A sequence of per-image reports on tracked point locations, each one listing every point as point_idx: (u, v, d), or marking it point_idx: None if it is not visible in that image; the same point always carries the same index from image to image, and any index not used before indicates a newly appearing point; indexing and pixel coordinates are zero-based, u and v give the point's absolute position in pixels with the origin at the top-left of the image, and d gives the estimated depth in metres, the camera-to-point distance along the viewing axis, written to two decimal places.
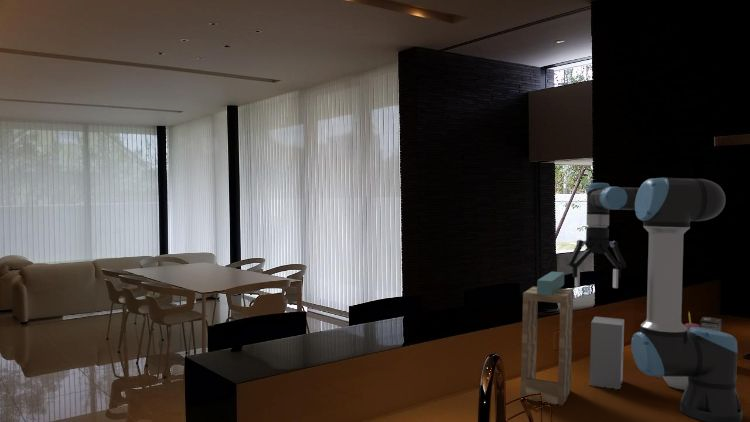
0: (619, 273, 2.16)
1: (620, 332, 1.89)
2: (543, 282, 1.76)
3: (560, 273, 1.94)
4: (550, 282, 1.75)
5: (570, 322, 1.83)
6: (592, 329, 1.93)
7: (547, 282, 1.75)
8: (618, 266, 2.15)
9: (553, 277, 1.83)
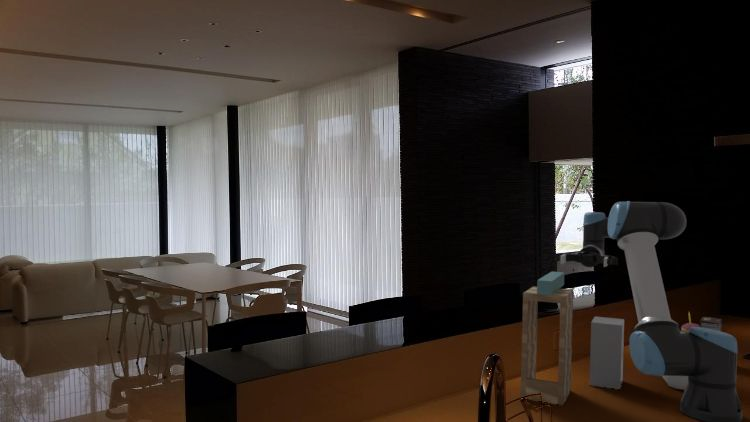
0: (609, 259, 2.04)
1: (620, 332, 1.89)
2: (543, 282, 1.76)
3: (560, 273, 1.94)
4: (550, 282, 1.75)
5: (570, 322, 1.83)
6: (592, 329, 1.93)
7: (547, 282, 1.75)
8: None
9: (553, 277, 1.83)
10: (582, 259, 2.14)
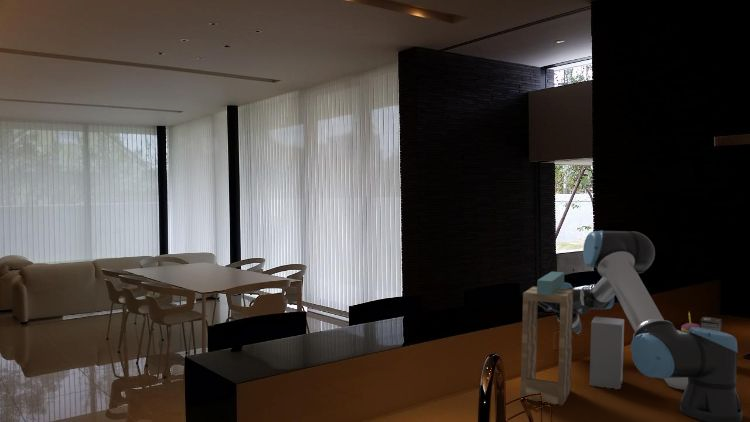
0: None
1: (620, 332, 1.89)
2: (543, 282, 1.76)
3: (560, 273, 1.94)
4: (550, 282, 1.75)
5: (570, 322, 1.83)
6: (592, 329, 1.93)
7: (547, 282, 1.75)
8: None
9: (553, 277, 1.83)
10: (559, 306, 2.13)
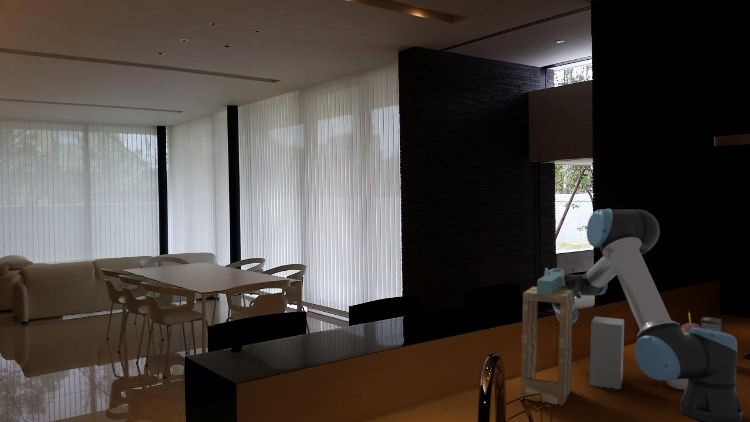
0: None
1: (620, 332, 1.89)
2: (543, 282, 1.76)
3: None
4: (550, 282, 1.75)
5: (570, 322, 1.83)
6: (592, 329, 1.93)
7: (547, 282, 1.75)
8: None
9: (553, 277, 1.83)
10: None
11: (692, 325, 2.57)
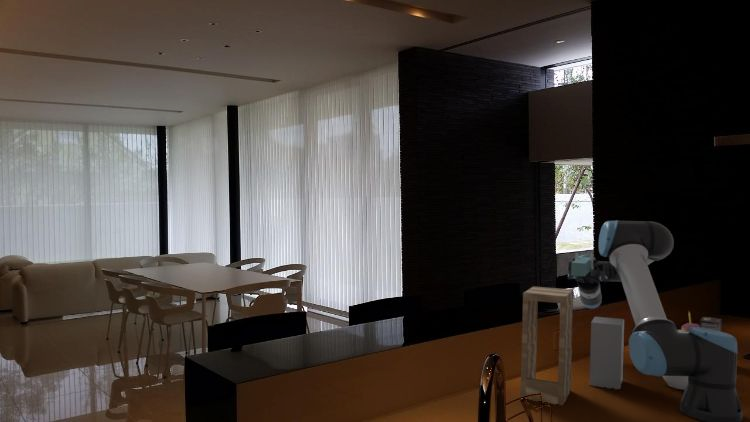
0: None
1: (620, 332, 1.89)
2: (577, 264, 1.90)
3: None
4: (584, 264, 1.89)
5: (570, 322, 1.83)
6: (592, 329, 1.93)
7: (581, 264, 1.89)
8: None
9: (584, 260, 1.97)
10: None
11: (692, 325, 2.57)
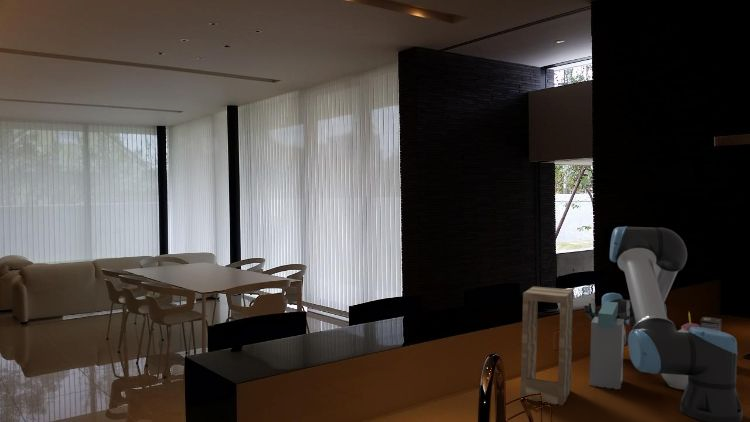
0: None
1: (620, 332, 1.89)
2: (604, 315, 1.86)
3: (615, 303, 2.04)
4: (611, 315, 1.85)
5: (570, 322, 1.83)
6: (592, 329, 1.93)
7: (608, 315, 1.85)
8: None
9: (611, 309, 1.94)
10: None
11: (692, 325, 2.57)
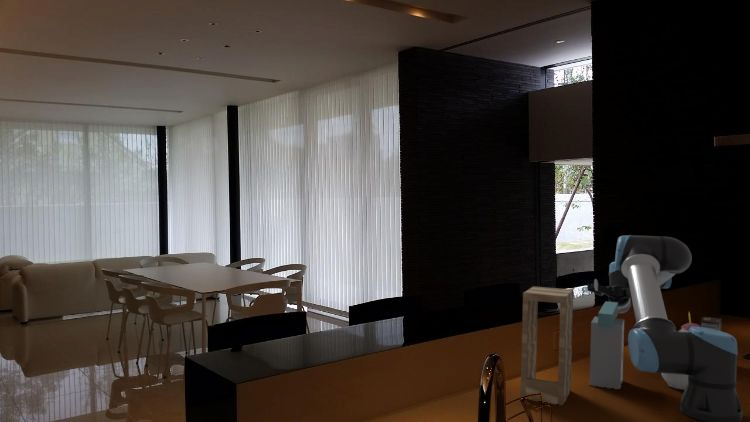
0: None
1: (620, 332, 1.89)
2: (604, 315, 1.86)
3: (615, 303, 2.04)
4: (611, 315, 1.85)
5: (570, 322, 1.83)
6: (592, 329, 1.93)
7: (608, 315, 1.85)
8: None
9: (611, 309, 1.94)
10: (613, 292, 2.23)
11: (692, 325, 2.57)
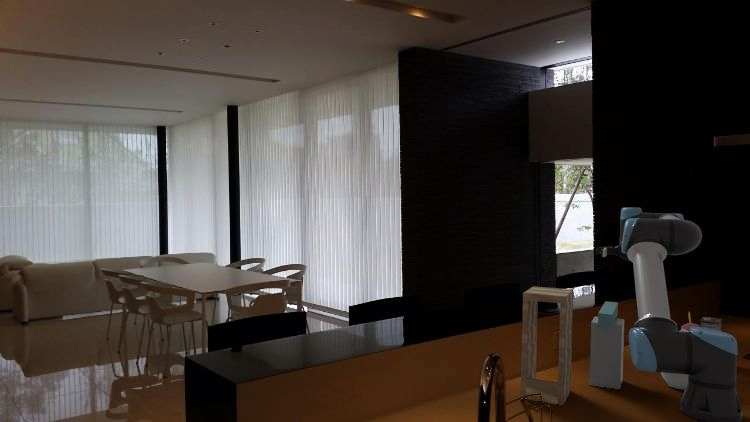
0: None
1: (620, 332, 1.89)
2: (604, 315, 1.86)
3: (615, 303, 2.04)
4: (611, 315, 1.85)
5: (570, 322, 1.83)
6: (592, 329, 1.93)
7: (608, 315, 1.85)
8: None
9: (611, 309, 1.94)
10: (622, 252, 2.22)
11: (692, 325, 2.57)
